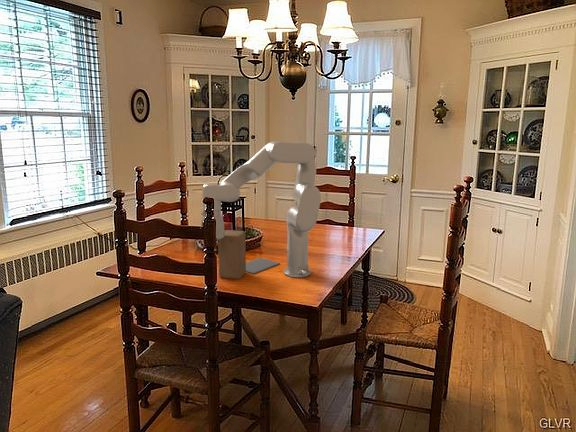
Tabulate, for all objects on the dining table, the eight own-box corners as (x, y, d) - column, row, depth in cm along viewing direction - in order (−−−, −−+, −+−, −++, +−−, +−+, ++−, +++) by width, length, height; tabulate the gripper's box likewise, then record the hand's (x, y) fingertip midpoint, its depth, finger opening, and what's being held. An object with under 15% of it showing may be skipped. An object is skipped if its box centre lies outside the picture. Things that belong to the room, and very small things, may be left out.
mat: (253, 274, 209) (253, 273, 209) (233, 268, 217) (233, 267, 216) (279, 264, 223) (279, 262, 223) (259, 258, 231) (259, 257, 231)
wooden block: (239, 279, 202) (239, 236, 197) (218, 278, 204) (217, 234, 199) (246, 272, 211) (246, 230, 207) (226, 270, 213) (225, 229, 209)
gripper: (204, 217, 184) (205, 260, 188) (230, 211, 195) (231, 252, 199) (192, 214, 188) (193, 257, 192) (218, 209, 200) (219, 249, 204)
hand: (212, 254), depth 196 cm, fingers closed
